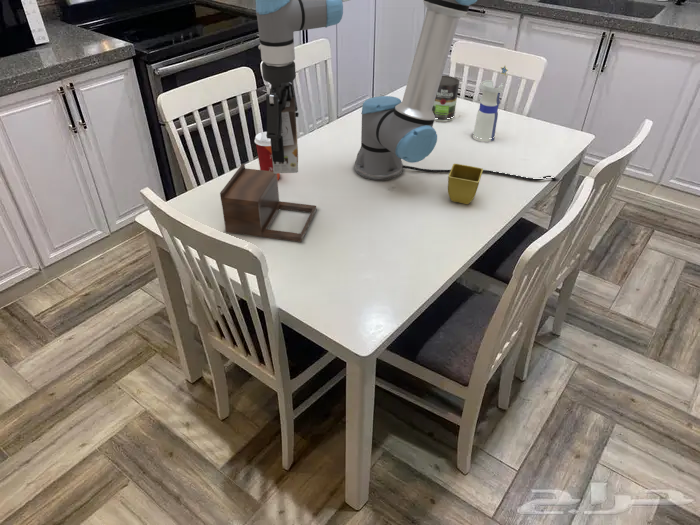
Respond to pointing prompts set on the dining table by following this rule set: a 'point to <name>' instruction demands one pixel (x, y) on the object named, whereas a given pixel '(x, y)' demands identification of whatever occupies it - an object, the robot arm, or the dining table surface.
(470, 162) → the dining table surface
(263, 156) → the paper cup
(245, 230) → the rack
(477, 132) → the water bottle
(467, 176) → the flower pot
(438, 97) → the coffee can
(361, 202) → the dining table surface
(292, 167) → the coffee box
